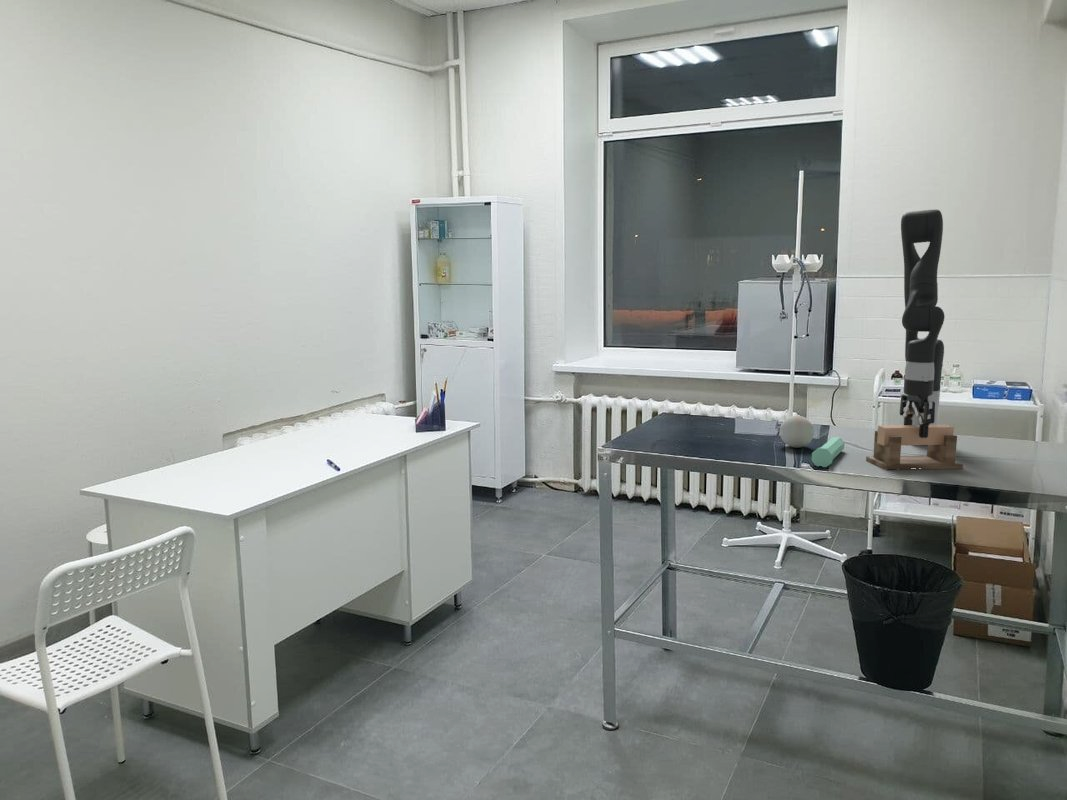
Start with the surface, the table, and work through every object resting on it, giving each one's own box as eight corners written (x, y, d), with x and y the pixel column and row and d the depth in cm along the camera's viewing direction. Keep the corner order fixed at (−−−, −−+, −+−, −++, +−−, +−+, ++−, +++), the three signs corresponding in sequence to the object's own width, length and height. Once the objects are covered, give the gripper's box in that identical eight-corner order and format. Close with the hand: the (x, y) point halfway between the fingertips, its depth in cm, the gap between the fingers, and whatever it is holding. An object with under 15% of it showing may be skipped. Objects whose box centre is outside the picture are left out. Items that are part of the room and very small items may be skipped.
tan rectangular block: (877, 442, 238) (878, 425, 237) (944, 441, 240) (945, 424, 239) (883, 445, 234) (884, 428, 234) (952, 444, 236) (953, 427, 235)
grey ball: (815, 451, 256) (816, 419, 254) (780, 449, 258) (781, 418, 256) (811, 444, 266) (812, 413, 264) (777, 443, 268) (779, 412, 266)
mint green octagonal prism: (832, 430, 257) (816, 443, 235) (850, 439, 255) (836, 453, 233) (823, 447, 259) (807, 462, 237) (842, 456, 257) (827, 472, 235)
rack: (866, 460, 243) (867, 430, 242) (938, 459, 244) (941, 428, 243) (886, 470, 231) (888, 438, 230) (962, 468, 233) (965, 436, 231)
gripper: (893, 374, 241) (890, 430, 243) (919, 381, 227) (915, 439, 229) (918, 374, 241) (914, 429, 244) (946, 380, 227) (942, 439, 230)
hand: (915, 434), depth 236 cm, fingers open, 8 cm apart
